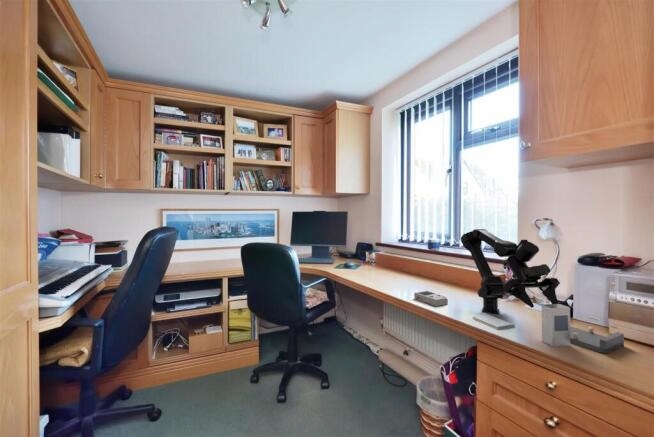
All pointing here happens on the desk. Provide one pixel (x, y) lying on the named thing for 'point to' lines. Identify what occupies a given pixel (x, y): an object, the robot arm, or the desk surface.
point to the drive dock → (596, 340)
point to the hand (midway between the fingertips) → (545, 306)
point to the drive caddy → (556, 325)
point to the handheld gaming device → (431, 298)
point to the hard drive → (493, 321)
